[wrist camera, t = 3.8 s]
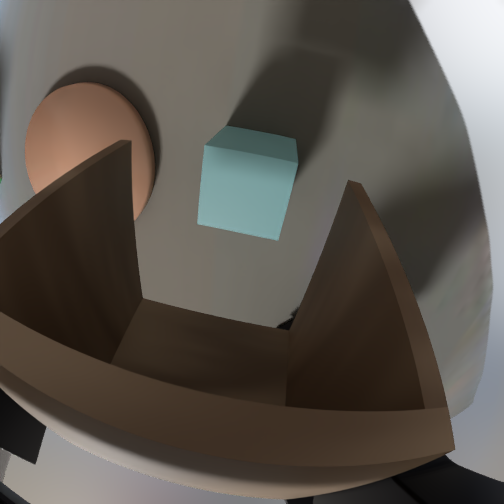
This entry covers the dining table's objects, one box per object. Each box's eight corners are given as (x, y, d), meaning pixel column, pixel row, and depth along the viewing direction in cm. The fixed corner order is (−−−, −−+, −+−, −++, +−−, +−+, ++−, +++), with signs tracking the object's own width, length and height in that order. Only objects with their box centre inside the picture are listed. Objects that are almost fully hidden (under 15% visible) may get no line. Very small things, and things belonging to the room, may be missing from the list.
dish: (190, 153, 18) (184, 158, 17) (110, 255, 24) (104, 263, 23) (70, 52, 13) (60, 53, 12) (21, 172, 19) (13, 177, 18)
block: (295, 138, 16) (298, 163, 12) (281, 199, 19) (278, 240, 15) (226, 125, 16) (204, 145, 12) (217, 187, 19) (197, 223, 15)
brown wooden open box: (361, 183, 7) (455, 449, 2) (295, 337, 12) (285, 499, 6) (120, 139, 7) (-70, 301, 2) (135, 301, 12) (71, 443, 6)
